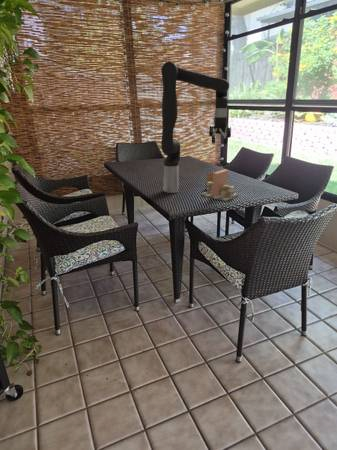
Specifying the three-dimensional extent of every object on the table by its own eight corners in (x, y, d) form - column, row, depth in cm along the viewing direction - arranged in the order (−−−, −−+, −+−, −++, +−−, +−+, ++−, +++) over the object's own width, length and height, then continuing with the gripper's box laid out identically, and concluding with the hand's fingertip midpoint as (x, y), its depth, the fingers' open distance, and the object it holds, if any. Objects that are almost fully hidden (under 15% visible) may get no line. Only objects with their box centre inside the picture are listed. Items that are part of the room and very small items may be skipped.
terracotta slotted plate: (212, 195, 190) (213, 172, 185) (223, 191, 198) (224, 169, 193) (216, 196, 188) (217, 173, 183) (226, 192, 196) (228, 170, 191)
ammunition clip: (207, 189, 206) (208, 171, 201) (205, 189, 208) (206, 171, 203) (220, 187, 211) (220, 169, 206) (218, 186, 212) (219, 169, 208)
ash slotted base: (201, 195, 195) (201, 184, 192) (214, 190, 204) (214, 179, 201) (225, 201, 183) (226, 189, 180) (238, 195, 193) (239, 184, 190)
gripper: (207, 116, 187) (206, 143, 193) (227, 117, 178) (225, 145, 184) (214, 115, 192) (213, 142, 198) (234, 116, 183) (232, 144, 189)
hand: (219, 144), depth 191 cm, fingers open, 8 cm apart
